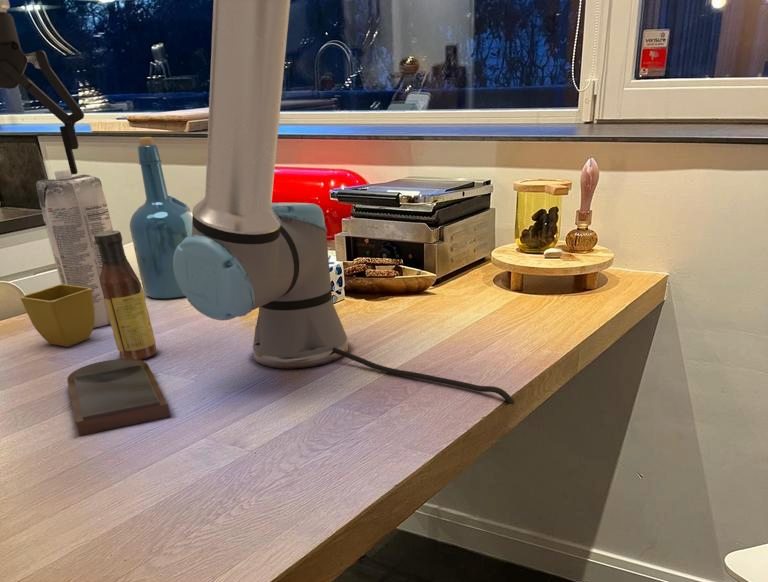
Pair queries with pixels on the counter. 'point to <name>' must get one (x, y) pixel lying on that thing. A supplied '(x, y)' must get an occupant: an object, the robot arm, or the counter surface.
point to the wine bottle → (158, 227)
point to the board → (115, 395)
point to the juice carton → (76, 231)
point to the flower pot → (61, 313)
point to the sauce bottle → (124, 299)
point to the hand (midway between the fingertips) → (28, 178)
